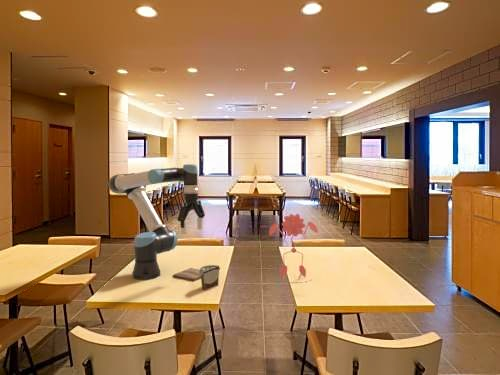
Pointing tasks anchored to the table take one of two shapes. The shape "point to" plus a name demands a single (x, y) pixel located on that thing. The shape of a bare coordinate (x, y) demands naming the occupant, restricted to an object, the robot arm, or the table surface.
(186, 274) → the walnut board
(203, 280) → the food container
